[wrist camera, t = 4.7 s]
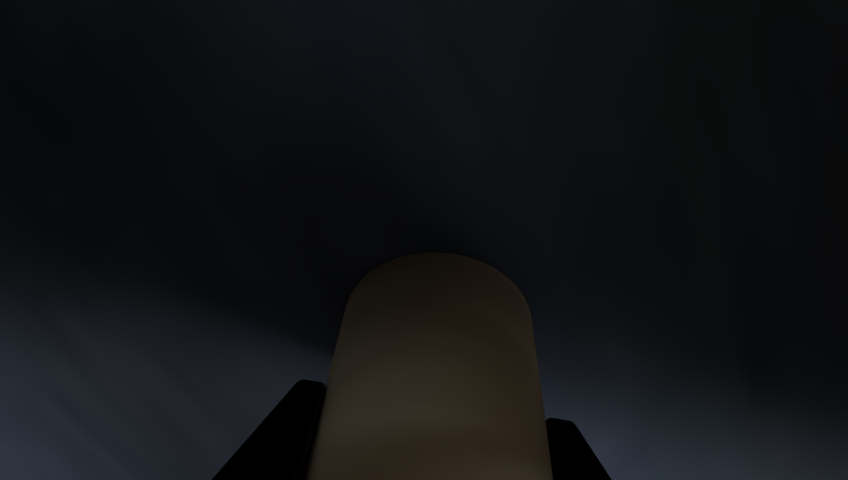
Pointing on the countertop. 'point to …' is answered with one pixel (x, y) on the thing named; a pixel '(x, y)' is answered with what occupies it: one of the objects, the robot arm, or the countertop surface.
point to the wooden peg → (433, 379)
